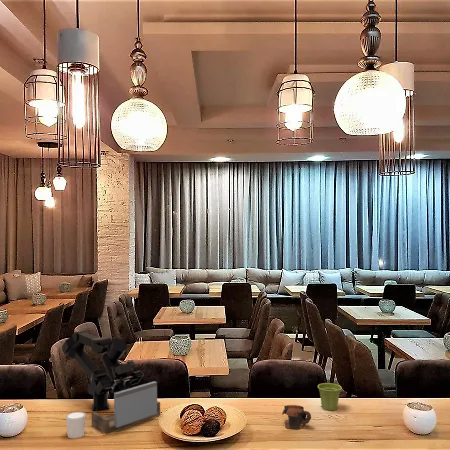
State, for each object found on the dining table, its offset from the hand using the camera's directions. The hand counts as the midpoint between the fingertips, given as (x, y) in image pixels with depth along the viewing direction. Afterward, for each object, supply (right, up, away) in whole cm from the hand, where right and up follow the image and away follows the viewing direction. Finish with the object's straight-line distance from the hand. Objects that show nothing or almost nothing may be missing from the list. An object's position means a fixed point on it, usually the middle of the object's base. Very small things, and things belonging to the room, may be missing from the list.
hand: (129, 401), depth 186 cm
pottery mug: (+63, -8, -3) cm, 63 cm away
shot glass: (-17, -8, -11) cm, 22 cm away
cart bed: (-1, -8, +1) cm, 8 cm away
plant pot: (+78, -7, +13) cm, 80 cm away
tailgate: (+3, -6, -3) cm, 7 cm away
